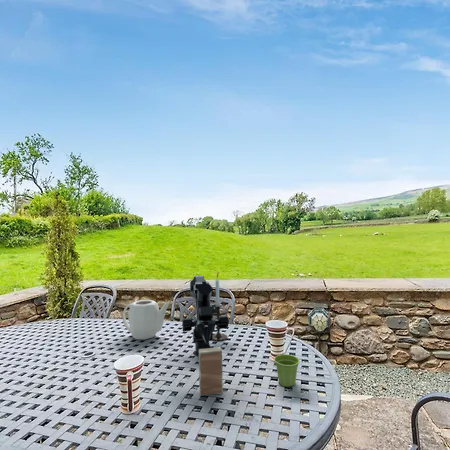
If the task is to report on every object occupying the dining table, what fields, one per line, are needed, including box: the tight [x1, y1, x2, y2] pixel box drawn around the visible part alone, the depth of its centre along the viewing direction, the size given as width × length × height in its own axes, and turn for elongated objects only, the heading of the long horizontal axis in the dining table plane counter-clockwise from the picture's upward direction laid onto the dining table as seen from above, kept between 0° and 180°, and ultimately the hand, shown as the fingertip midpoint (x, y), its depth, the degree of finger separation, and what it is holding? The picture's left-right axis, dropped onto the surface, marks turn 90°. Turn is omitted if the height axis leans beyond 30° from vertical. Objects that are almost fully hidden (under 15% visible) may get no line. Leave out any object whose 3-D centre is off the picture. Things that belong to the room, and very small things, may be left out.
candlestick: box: [211, 271, 229, 342], centre depth 163 cm, size 11×11×35 cm
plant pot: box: [273, 353, 301, 388], centre depth 115 cm, size 9×9×9 cm
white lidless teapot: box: [122, 299, 171, 340], centre depth 168 cm, size 16×27×19 cm, turn 83°
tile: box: [198, 346, 224, 396], centre depth 109 cm, size 3×8×15 cm, turn 99°
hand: (207, 343), depth 120 cm, fingers closed
